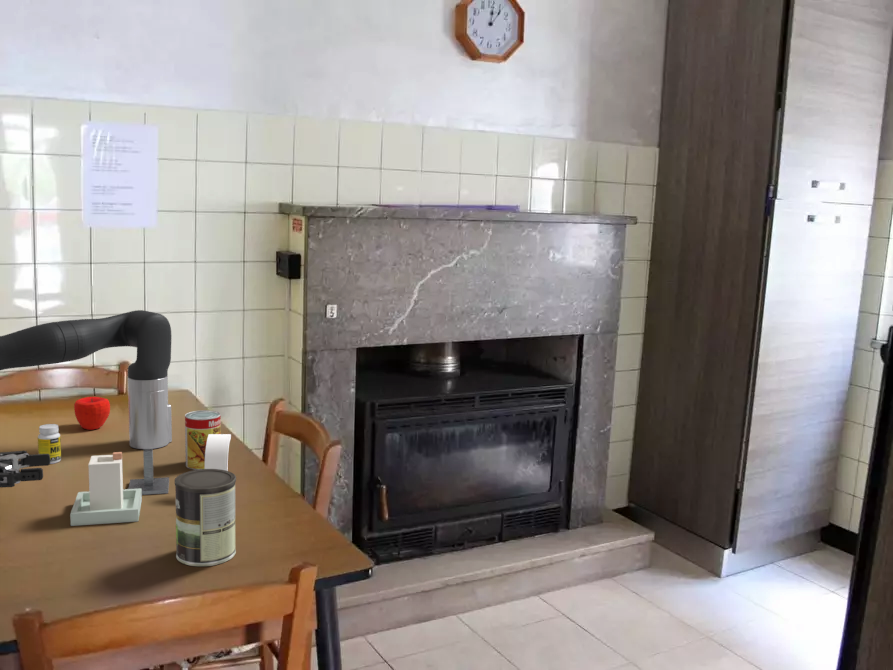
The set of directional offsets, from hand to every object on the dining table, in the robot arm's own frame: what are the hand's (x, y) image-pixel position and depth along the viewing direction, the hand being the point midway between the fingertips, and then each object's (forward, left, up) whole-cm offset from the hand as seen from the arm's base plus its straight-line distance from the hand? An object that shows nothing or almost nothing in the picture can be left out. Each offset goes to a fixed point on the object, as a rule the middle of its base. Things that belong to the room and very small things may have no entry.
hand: (46, 466), depth 165 cm
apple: (-46, -43, -10) cm, 64 cm away
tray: (-7, +8, -10) cm, 15 cm away
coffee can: (-4, +38, -10) cm, 39 cm away
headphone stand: (-28, +18, -10) cm, 34 cm away
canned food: (-40, +2, -10) cm, 41 cm away
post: (-21, +4, -10) cm, 24 cm away
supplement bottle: (-22, -28, -10) cm, 37 cm away
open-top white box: (-7, +8, -9) cm, 14 cm away
